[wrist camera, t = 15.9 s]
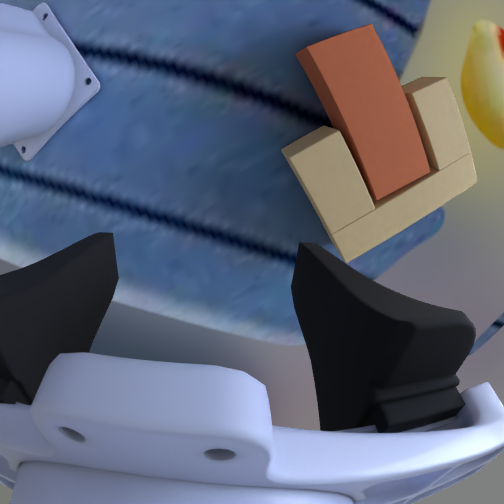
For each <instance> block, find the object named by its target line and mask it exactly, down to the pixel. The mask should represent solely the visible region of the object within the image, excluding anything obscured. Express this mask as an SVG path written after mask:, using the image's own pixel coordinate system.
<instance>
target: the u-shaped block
mask: <svg viewBox="0 0 504 504" xmlns="http://www.w3.org/2000/svg"><path fill="white" fill-rule="evenodd" d="M402 89H403V91H404V94H405V96H406V99H407V101H408V104H409V107H410V109H411V112H412V115H413V118H414V120H415V123H416V126H417V129H418V132H419V135H420V138H421V141H422V145H423V148H424V151H425V154H426V158H427V161H428V165H429V169H430V172H429V173H427V174H425V175H423V176H422V177H420V178H418V179H416V180H414V181H412V182H410V183H409V184H407V185H405V186H403V187H401V188H399V189H397V190H395V191H393V192H392V193H390V194H388V195H386V196H384V197H382V198H380V199H378V200H376V199H375V198H374V197H372V196H371V195H370V194H369V192H368V190H367V188H366V186H365V183H364V181H363V179H362V177H361V174H360V172H359V170H358V168H357V166H356V164H355V161H354V159H353V157H352V155H351V153H350V151H349V149H348V147H347V145H346V143H345V141H344V139H343V137H342V135H341V133H340V131H339V130H336V129H333V128H330V127H327V126H322V127H320V128H318V129H316V130H314V131H312V132H311V133H309V134H307V135H305V136H303V137H302V138H300V139H298V140H296V141H294V142H293V143H291V144H289V145H287V146H286V147H284V148H282V149H281V151H282V153H283V155H284V156H285V158H286V160H287V161H288V163H289V165H290V167H291V168H292V170H293V172H294V173H295V175H296V177H297V179H298V180H299V182H300V184H301V186H302V187H303V189H304V191H305V193H306V195H307V196H308V198H309V200H310V202H311V204H312V205H313V207H314V209H315V211H316V213H317V215H318V216H319V218H320V220H321V222H322V224H323V226H324V228H325V229H326V231H327V233H328V235H329V237H330V239H331V241H332V243H333V244H334V246H335V248H336V249H337V251H338V252H339V254H340V255H341V257H342V258H343V260H344V262H345V263H348V262H349V261H351V260H353V259H355V258H356V257H358V256H360V255H361V254H363V253H365V252H367V251H368V250H370V249H372V248H373V247H375V246H377V245H379V244H380V243H382V242H384V241H385V240H387V239H389V238H390V237H392V236H394V235H395V234H397V233H399V232H400V231H402V230H403V229H405V228H407V227H408V226H410V225H412V224H413V223H415V222H416V221H418V220H420V219H421V218H423V217H424V216H426V215H428V214H429V213H431V212H432V211H434V210H435V209H437V208H439V207H440V206H442V205H443V204H445V203H446V202H448V201H449V200H451V199H453V198H454V197H455V196H457V195H459V194H460V193H462V192H463V191H464V190H466V189H467V188H469V187H470V186H472V185H474V184H475V183H476V182H477V176H476V172H475V167H474V163H473V159H472V155H471V152H470V151H471V150H470V146H469V143H468V139H467V135H466V132H465V128H464V125H463V122H462V119H461V116H460V112H459V109H458V106H457V103H456V101H455V98H454V95H453V92H452V89H451V87H450V84H449V82H448V79H447V77H421V78H419V79H417V80H414V81H412V82H410V83H408V84H406V85H403V86H402Z"/></svg>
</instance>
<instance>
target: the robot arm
mask: <svg viewBox="0 0 504 504" xmlns="http://www.w3.org/2000/svg"><path fill="white" fill-rule="evenodd" d="M47 14H48V16H47V18H46V19H44V18H45V16H46V15H47ZM89 78H90V79H91V83H90V85H87V80H88V79H89ZM99 90H100V82H99V81H98V79H97V78H96V76H95V75H94V74H93V72H92V71H91V69H90V68H89V66H88V65H87V63H86V62H85V60H84V59H83V57H82V56H81V54H80V53H79V52H78V50H77V49H76V47H75V46H74V44H73V43H72V41H71V40H70V38H69V37H68V35H67V34H66V32H65V31H64V29H63V28H62V26H61V25H60V23H59V22H58V20H57V19H56V17H55V16H54V14H53V12H52V11H51V9H50V8H49V6H48V5H47V4H46V3H40V4H39V5H38V6H37V7H36V8H35V9H34V10H33V11H30V10H26V9H23V8H19V7H15V6H11V5H8V4H3V3H0V148H1V147H4V146H6V145H9V144H12V143H13V144H14V146H15V147H16V149H17V150H18V152H19V153H20V155H21V157H22V158H23V159H24V160H25V161H30V160H31V159H32V158H33V157H34V156H35V155H36V154H37V153H38V151H39V150H40V149H41V148H42V147H43V146H44V145H45V144H46V143H47V141H48V140H49V139H50V138H51V137H52V136H53V135H54V134H55V133H56V132H57V131H58V130H59V129H60V128H61V127H62V126H63V125H64V124H65V123H66V121H67V120H68V119H70V118H71V117H72V116H73V115H74V114H75V113H76V112H77V111H78V110H79V109H80V108H81V107H82V106H83V105H84V104H85V103H86V102H87V101H88V100H90V99H91V98H92V97H93V96H94V95H95V94H96V93H97V92H98V91H99ZM24 147H25V148H26V151H24ZM118 279H119V277H118V270H117V263H116V255H115V247H114V238H113V233H101V232H99V233H96V234H93V235H91V236H88V237H86V238H84V239H82V240H80V241H78V242H76V243H74V244H72V245H71V246H69V247H67V248H65V249H63V250H61V251H59V252H57V253H55V254H53V255H51V256H49V257H47V258H45V259H43V260H41V261H38V262H36V263H34V264H31V265H29V266H26V267H24V268H21V269H18V270H15V271H12V272H9V273H6V274H2V275H0V484H2V485H4V486H6V487H8V488H10V489H12V490H13V493H12V497H11V501H10V504H412V503H414V502H417V501H419V500H421V499H424V498H426V497H428V496H430V495H432V494H435V493H437V492H439V491H441V490H443V489H445V488H447V487H450V486H452V485H454V484H456V483H458V482H460V481H462V480H464V479H465V478H467V477H469V476H471V475H473V474H475V473H476V472H478V471H479V470H480V469H481V468H483V467H484V466H485V465H486V464H488V463H489V462H490V461H491V460H493V459H494V458H495V457H496V456H497V455H498V454H500V453H501V452H502V451H503V450H504V406H503V405H502V403H501V402H500V400H499V398H498V397H497V395H496V393H495V392H494V390H493V389H492V387H491V386H490V384H489V383H487V382H486V383H483V384H480V385H477V386H474V387H471V388H468V389H466V390H464V391H463V392H462V393H459V392H458V390H457V388H456V386H457V385H458V384H459V379H458V377H457V376H456V372H457V371H458V369H459V368H460V366H461V365H462V363H463V362H464V360H465V359H466V357H467V356H468V354H469V352H470V350H471V348H472V347H473V344H474V340H475V337H476V329H475V327H474V325H473V323H472V322H471V321H470V320H469V318H468V317H467V316H466V315H465V314H464V313H463V312H462V311H457V310H453V309H448V308H443V307H438V306H435V305H431V304H428V303H424V302H421V301H418V300H415V299H413V298H410V297H407V296H405V295H402V294H400V293H397V292H395V291H393V290H391V289H388V288H386V287H384V286H382V285H380V284H378V283H376V282H374V281H373V280H371V279H369V278H367V277H366V276H364V275H362V274H361V273H359V272H358V271H356V270H354V269H353V268H351V267H350V266H348V265H347V264H345V263H344V262H342V261H341V260H340V259H338V258H337V257H335V256H334V255H332V254H331V253H330V252H328V251H327V250H325V249H324V248H322V247H321V246H319V245H317V244H315V243H302V242H299V247H298V252H297V258H296V263H295V269H294V274H293V279H292V285H291V290H292V296H293V302H294V308H295V311H296V314H297V317H298V321H299V324H300V327H301V330H302V333H303V336H304V339H305V342H306V345H307V348H308V352H309V356H310V359H311V364H312V370H313V375H314V381H315V388H316V394H317V401H318V410H319V418H320V419H319V420H320V430H321V431H317V430H307V429H297V428H288V427H280V426H273V425H272V421H271V413H270V406H269V400H268V396H267V392H266V388H265V385H263V384H262V383H260V382H259V381H257V380H256V379H255V378H253V377H252V376H250V375H249V374H247V373H246V372H244V371H240V370H235V369H230V368H225V367H220V366H215V365H200V364H184V363H170V362H158V361H148V360H138V359H130V358H121V357H114V356H106V355H99V354H93V353H89V351H90V348H91V345H92V343H93V340H94V338H95V335H96V333H97V331H98V328H99V326H100V324H101V322H102V319H103V318H104V315H105V313H106V311H107V309H108V307H109V305H110V303H111V300H112V298H113V295H114V292H115V289H116V285H117V282H118Z"/></svg>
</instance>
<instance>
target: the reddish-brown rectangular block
mask: <svg viewBox="0 0 504 504" xmlns="http://www.w3.org/2000/svg"><path fill="white" fill-rule="evenodd" d="M295 55H296V57H297V58H298V60H299V62H300V64H301V65H302V67H303V69H304V71H305V73H306V74H307V76H308V78H309V80H310V82H311V84H312V86H313V87H314V89H315V91H316V93H317V95H318V97H319V99H320V101H321V103H322V105H323V107H324V109H325V111H326V113H327V115H328V117H329V119H330V121H331V123H332V125H333V128H334V129H336V130H339V131H340V133H341V135H342V137H343V139H344V141H345V143H346V145H347V147H348V149H349V151H350V153H351V155H352V157H353V159H354V161H355V164H356V166H357V168H358V170H359V172H360V174H361V177H362V179H363V181H364V183H365V186H366V188H367V190H368V192H369V194H370V195H371V196H372V197H374V198H375V199H376V200H378V199H380V198H382V197H384V196H386V195H388V194H390V193H392V192H393V191H395V190H397V189H399V188H401V187H403V186H405V185H407V184H409V183H410V182H412V181H414V180H416V179H418V178H420V177H422V176H423V175H425V174H427V173H429V172H430V169H429V165H428V161H427V158H426V154H425V151H424V148H423V145H422V141H421V138H420V135H419V132H418V129H417V126H416V123H415V120H414V118H413V115H412V112H411V109H410V107H409V104H408V101H407V99H406V96H405V94H404V91H403V89H402V86H401V84H400V82H399V79H398V77H397V75H396V72H395V70H394V68H393V66H392V63H391V61H390V59H389V57H388V55H387V53H386V51H385V49H384V47H383V45H382V43H381V41H380V39H379V37H378V35H377V33H376V31H375V29H374V27H373V25H372V24H369V25H366V26H363V27H360V28H357V29H354V30H351V31H348V32H345V33H342V34H339V35H336V36H333V37H331V38H328V39H325V40H323V41H320V42H318V43H315V44H312V45H310V46H308V47H306V48H304V49H302V50H301V51H299V52H298V53H296V54H295Z"/></svg>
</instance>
